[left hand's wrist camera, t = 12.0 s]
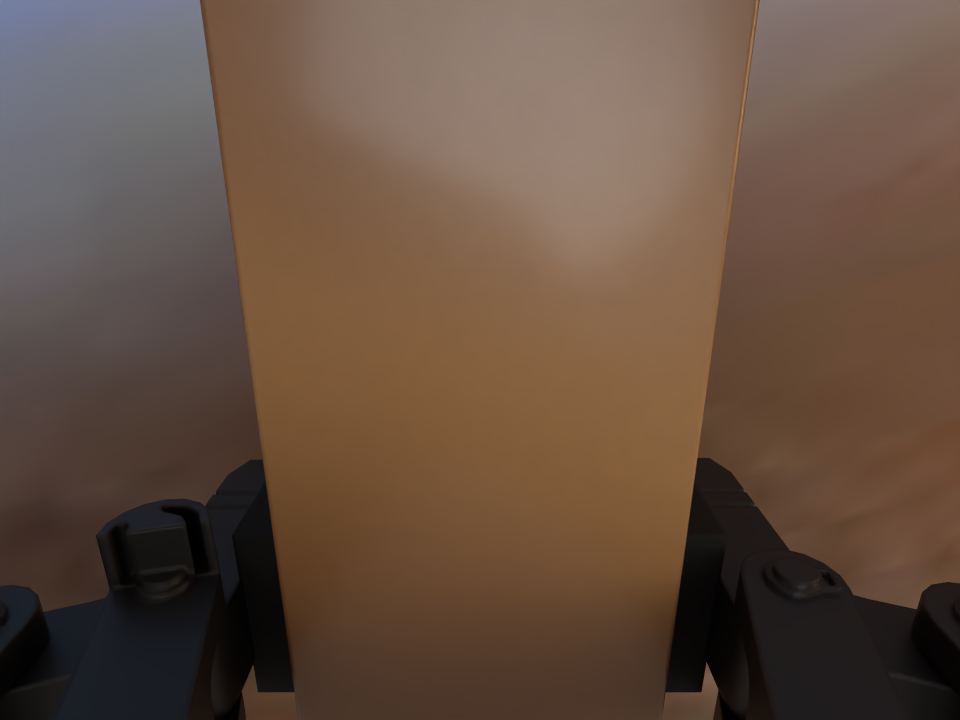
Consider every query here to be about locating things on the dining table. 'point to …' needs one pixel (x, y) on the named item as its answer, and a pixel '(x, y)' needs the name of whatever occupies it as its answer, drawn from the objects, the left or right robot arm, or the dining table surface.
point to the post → (479, 334)
